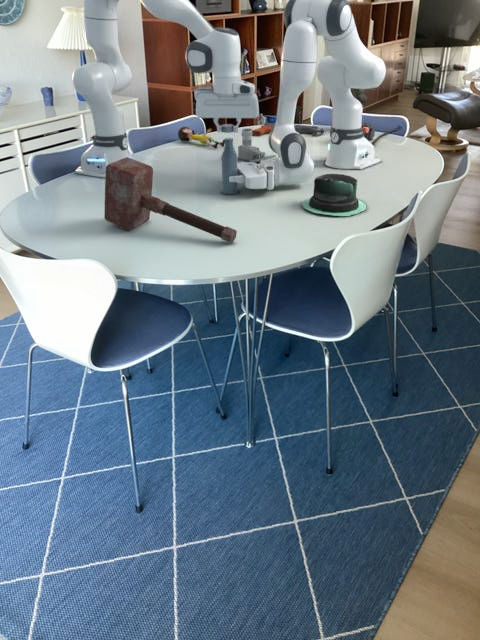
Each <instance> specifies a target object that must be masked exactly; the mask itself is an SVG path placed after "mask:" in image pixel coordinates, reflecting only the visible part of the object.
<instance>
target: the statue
mask: <svg viewBox="0 0 480 640" xmlns="http://www.w3.org/2000/svg"><path fill="white" fill-rule="evenodd" d="M350 90H351V93H352V95H353V97H354V98H355V99H357V100H358V101H359V102H360V103H361V104H362V107H363V108H364V104H365V103H367V102H368V96H367V95H366V94H365V91H364V89H356V88H350Z"/></svg>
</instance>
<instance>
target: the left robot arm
mask: <svg viewBox="0 0 480 640" xmlns="http://www.w3.org/2000/svg"><path fill="white" fill-rule="evenodd" d="M119 1H120V0H83V21H84V38H85V42H86V44H87V45H88V47H90V48H91V50H92V51H93V54H94V57H95V62H88V63H85V64H83V65H80V66H79V67H77V68H75V70H74V71H73V73H72V85H73V87H74V90H75V91H76V93H78V94H79V95H80V96H81V97H83V99H84V100H85V101H86V104H87V105H88V107H89V110H90V112H91V115H92V121H93V126H94V133H95V134H93V135H92V136H90V137H89V141H92V145H91V146H90V147H88V148H87V149H86V150H85V151H84V152H83V153H82V154H81V157H80V160H79V161H80V166H79V167H77V168H76V169H75V174H79V175H85V176H90V177H97V178H105V177H106V166H107V165H108V164H110V163H113V162H116V161H118V160H121V159H123V158H126V157H128V158H131V156H130V152H129V142H128V135H127V132H126V126H125V119H124V118H125V117H124V112H123V110H122V109H121V107H118V106H117V105H116V103H115V101H114V99H113V95H112V94H115V93H119V92H122V91H123V90H125V89H127V88H128V87H130V85H131V83H132V79H133V75H132V71H131V68H130V66H129V65H128V64H127V63H126V62H125V61H124V58H123V55H122V52H121V49H120V48H121V47H120V44H119V27H118V25H119V24H118V3H119ZM139 2H141V3H140V4H142V5H143V7H144V8H145V9H146V10H147V11H148V12H149V13H150V14H151V15H152V16H153V17H155V18H157V19H159V20H164V21H168V22H173V23H176V24H179V25H181V26H183V27H185V28H187V29H188V31H189V32H190V33H191V34H192V35H193V36H194V38H196V40H193V41H191V42H189V44H188V45H187V47H186V50H185V52H184V53H185V55H184V56H185V57H184V58H185V63H186V65H187V67H188V69H189V70H190V71H191V72H192V73H195V74H199V75H201V74H209V73H211V74H212V85H211V86H210V85H209V86H202V85H201V86H200V85H199V86H198V87H196V88H195V90H194V92H193V93H194V101H196V102H195V115H196V117H197V118H199V119H213V123H214V124H215V126H216V132H217V133H223V132H222V125H220V123H219V120H220V119H236V122H237V123H236V125H234V127H233V132H232V133H238V132H239V126H240V124H241V122H242V119H257V118H258V117H259V115H260V105H259V98H258V95H257V94H256V85H255V84H254V83H251V82H249V81H246V80H243V79H242V73H241V69H240V67H241V62H242V50H241V39H240V35H239V33H238V32H237V31H236V30H235V29H234V28H233V29H232V28H231V27H230V28H229V27H223V26H220V27H219V26H218V27H214V26H213V25H212V24H211V23H210V21H209V20H208V19H207V18H206V17H205V16H204V15H203V13H202V12H201V11H200V10H199V9H198V8H197V6H195V4H193V2H191V1H190V0H139Z"/></svg>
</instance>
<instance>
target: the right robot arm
mask: <svg viewBox="0 0 480 640" xmlns="http://www.w3.org/2000/svg"><path fill="white" fill-rule="evenodd" d="M283 22H284V26H285V29H286V31H285V35H284V40H283V44H282V50H281V58H280V72H279V92H278V97H277V98H278V99H277V107H276V114H275V120H274V122H273V123H274V126H273V128H272V130H271V132H269V134H268V139H267V140H268V145H269V148H270V150H271V151H272V152H273V153H275V154H276V155H277V158H275V159H273V158H272V159H267V160H261V161H259V163H257V162H250V161H244V162H243V161H242V162H237V176H234V175H232V176H229V177H228V178H229V182H237V183H240V184H243V185H244V187H245V188H246V189H250V190H264V189H267V190H270V191H271V190H274V188H275V187H277V186H280V185H286V186H290V185H291V186H292V185H300V184H304V183H308V182H309V181H310V180H311V179H312V177H313V176H314V172H315V162H314V160H313V159H312V158H311V156H310V154H309V152H308V147H307V141H306V139H305V137H304V136H303V135H302V134H301V133H298V132H296V131H295V128H294V125H295V117H296V109H297V103H298V99H299V97H300V95H301V94H302V93H303V92H304V91H306V90H307V89H309V88H310V87H311V85H312V84H313V81H314V78H315V74H316V78H317V80H318V81H319V83H320V84H321V85H322V86H323V87H324V88H325V91H327V93H328V96H329V98H330V101H331V112H332V113H331V115H332V116H331V126H330V130H329V137H330V140H329V143H328V144H327V145H328V146H327V156H326V157H325V163H324V164H325V166H327V167H330V168H334V169H341V170H342V169H343V170H348V169H350V170H351V169H352V170H363V169H365V168H368V167H370V166H373V165H376V164H378V163H381V158H379V157H377V156H376V155H375V150H376V149H375V145H376V143H377V141H378V140H380V139H381V138H383V137H384V136H385V135H388V134H390V133H394V132H396V131H398V130H399V129H401V125H397V127H396V128H395V129H394V128H393V129H391V130H388V131H386V132H383V133H382V134H380V135H378V136H377V137H376V138H375V139H374V141H372V143H371V141H368V140H367V139H366V138H365V137H364V134H363V132H365V133H368V129H369V128H368V127H363V128H362V127H361V125H362V123H363V122H362V121H363V111H364V106H363V107H362V104H361V103H360V102H359V101H358V100H357V99H355V98H354V97H353V95H352V93H351V90H350V88H356V89H363V90H369V89H375V88H379V86H380V85H382V84H383V82H384V80H385V78H386V74H387V68H386V64H385V61H384V60H383V59H382V58H381V57H379V56H377V55H375V54H374V53H372V52H371V51H370V50H369V49H368V48H367V47H366V46H365V44H364V43H363V42H362V40H361V39H360V36H359V33H358V30H357V25H356V22H355V17H354V14H353V10H352V6H351V5H350V2H349V1H348V0H288V1H287V2H286V4H285V6H284V9H283ZM318 36H319V37H321V36H322V38H323V43H324V45H325V48H326V51H327V53H328V55H325V56H323V57H321V59H320V60H319V62H318V63H317V58H318Z"/></svg>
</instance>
